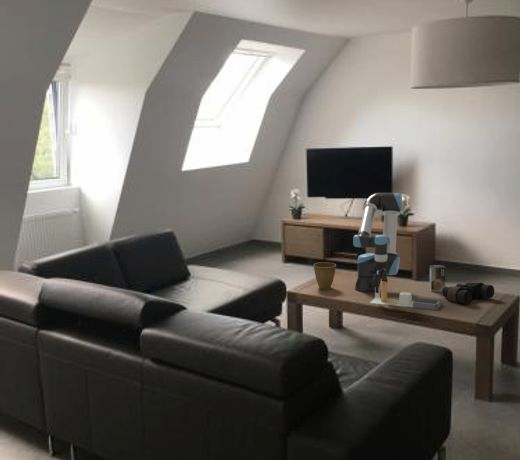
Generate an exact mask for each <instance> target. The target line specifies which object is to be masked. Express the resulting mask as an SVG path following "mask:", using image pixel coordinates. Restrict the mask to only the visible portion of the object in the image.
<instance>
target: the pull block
mask: <svg viewBox="0 0 520 460" xmlns="http://www.w3.org/2000/svg"><path fill="white" fill-rule="evenodd" d="M412 295H413V293H412V292H407V291H405V292H404V291H401V292H400V293H399V296H398V297H399V299H395V298H394V299H393V298H388V282H386V281H382V280H381V282H380V298H381V302H387V301H395V302H399V304H401V305H410V304H411V303H412V302H413V301H412V299H413V297H412Z"/></svg>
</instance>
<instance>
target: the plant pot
mask: <svg viewBox="0 0 520 460" xmlns="http://www.w3.org/2000/svg"><path fill="white" fill-rule="evenodd" d="M336 269H337V264H336V263H334V262H325V261H323V262H322V261H321V262H316V263H314V264H313V271H314V275H315V280H316V283H317V286H318V288H319V289H320V288H321V289H320V290H329V288H330V289H331V287H332V285H333V282H334V278H335V274H336Z"/></svg>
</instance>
